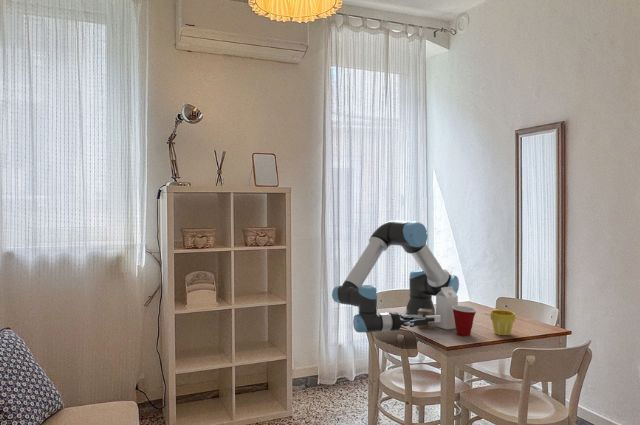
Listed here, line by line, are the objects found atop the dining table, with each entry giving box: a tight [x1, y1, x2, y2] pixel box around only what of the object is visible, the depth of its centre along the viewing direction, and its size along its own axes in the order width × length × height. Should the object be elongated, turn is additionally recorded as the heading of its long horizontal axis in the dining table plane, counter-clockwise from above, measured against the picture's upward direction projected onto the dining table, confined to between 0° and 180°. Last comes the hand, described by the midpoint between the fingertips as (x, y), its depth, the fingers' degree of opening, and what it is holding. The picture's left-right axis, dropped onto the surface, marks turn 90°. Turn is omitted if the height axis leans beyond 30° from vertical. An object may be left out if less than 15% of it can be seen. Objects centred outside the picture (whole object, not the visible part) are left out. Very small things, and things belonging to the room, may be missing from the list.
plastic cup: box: [452, 305, 478, 337], centre depth 208 cm, size 11×11×12 cm
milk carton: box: [435, 287, 459, 330], centre depth 220 cm, size 7×7×19 cm
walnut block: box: [417, 308, 433, 330], centre depth 221 cm, size 6×6×8 cm
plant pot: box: [489, 309, 516, 336], centre depth 209 cm, size 10×10×10 cm
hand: (439, 318), depth 205 cm, fingers closed
